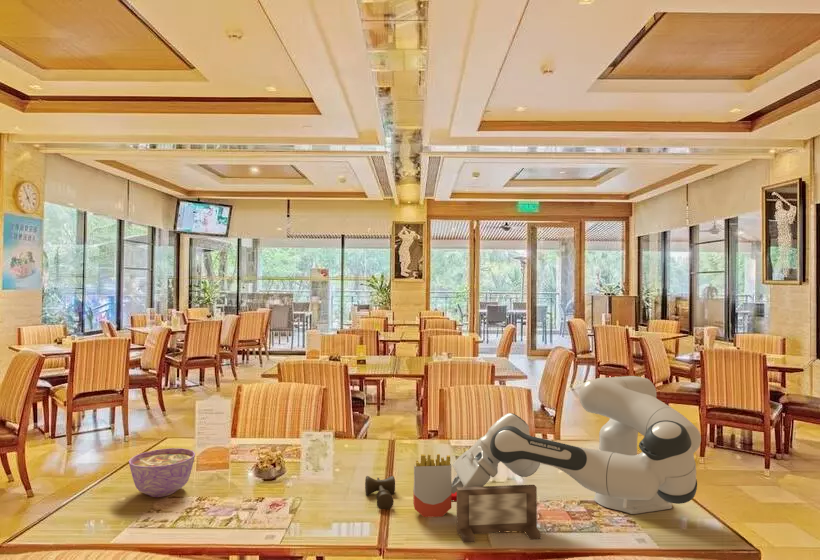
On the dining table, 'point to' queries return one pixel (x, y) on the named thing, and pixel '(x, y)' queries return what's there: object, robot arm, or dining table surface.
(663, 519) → the dining table surface
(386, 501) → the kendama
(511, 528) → the menu board
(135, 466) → the bowl of food
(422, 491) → the french fries container
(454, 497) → the popsicle
